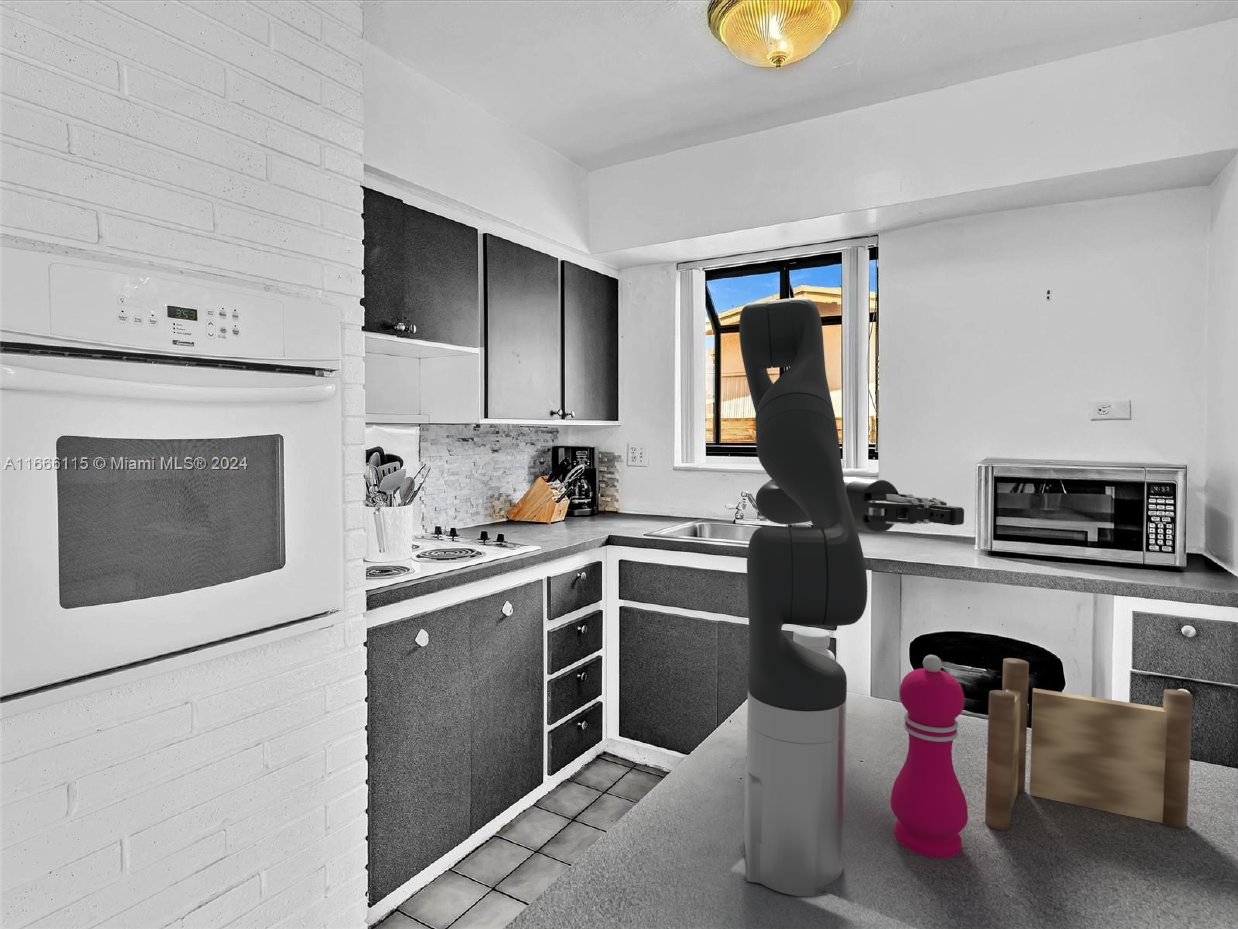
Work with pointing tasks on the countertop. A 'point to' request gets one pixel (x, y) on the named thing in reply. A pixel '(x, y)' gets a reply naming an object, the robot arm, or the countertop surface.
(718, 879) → the countertop surface
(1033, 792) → the swing panel
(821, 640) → the supplement bottle
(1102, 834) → the countertop surface
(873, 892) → the countertop surface
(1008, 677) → the fixed panel
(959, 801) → the pepper mill
